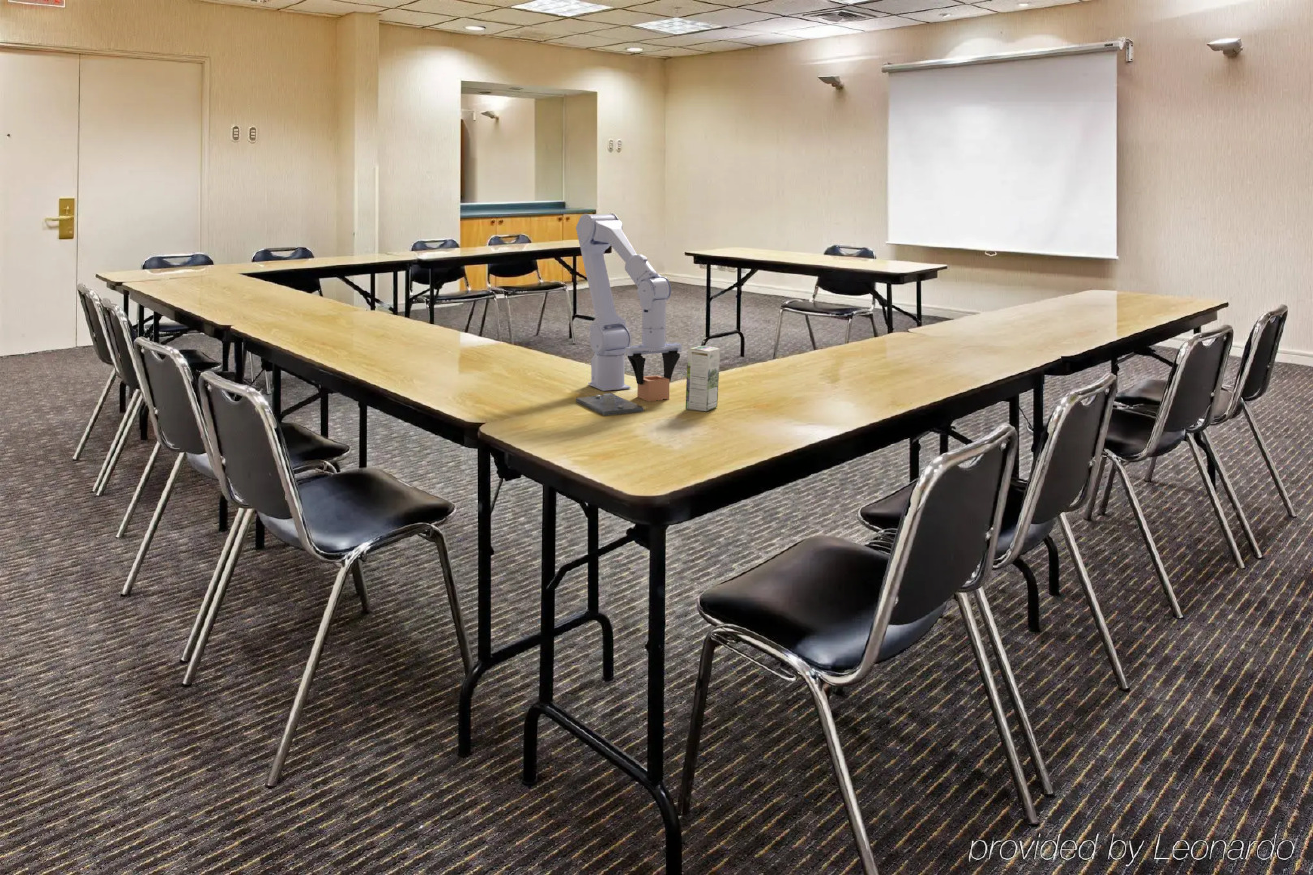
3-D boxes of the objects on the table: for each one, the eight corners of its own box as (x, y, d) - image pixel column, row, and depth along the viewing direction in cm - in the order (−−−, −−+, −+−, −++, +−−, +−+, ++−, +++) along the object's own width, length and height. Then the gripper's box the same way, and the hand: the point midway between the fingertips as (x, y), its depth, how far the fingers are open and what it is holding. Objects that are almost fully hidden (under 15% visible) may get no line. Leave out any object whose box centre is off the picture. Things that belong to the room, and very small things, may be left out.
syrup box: (696, 404, 236) (698, 344, 232) (718, 407, 233) (720, 347, 229) (685, 409, 231) (686, 348, 227) (707, 412, 228) (708, 350, 224)
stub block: (576, 402, 237) (576, 389, 236) (613, 398, 241) (613, 386, 241) (604, 415, 223) (604, 402, 222) (643, 411, 228) (643, 398, 227)
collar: (637, 396, 243) (637, 377, 242) (657, 394, 246) (658, 375, 245) (648, 401, 238) (648, 381, 237) (669, 399, 241) (669, 379, 240)
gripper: (635, 331, 231) (634, 388, 234) (688, 327, 238) (687, 382, 241) (621, 327, 237) (621, 383, 240) (673, 324, 244) (673, 378, 247)
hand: (653, 382), depth 241 cm, fingers open, 7 cm apart
